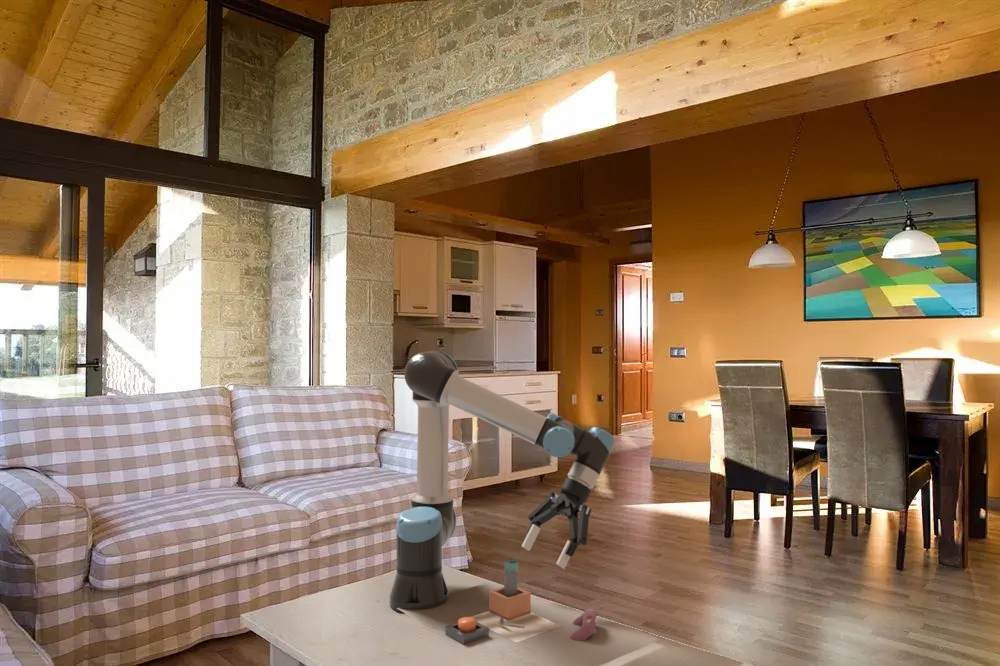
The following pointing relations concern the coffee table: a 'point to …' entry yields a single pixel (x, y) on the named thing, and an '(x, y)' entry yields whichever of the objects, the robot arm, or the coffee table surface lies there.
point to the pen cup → (509, 603)
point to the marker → (511, 577)
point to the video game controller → (585, 625)
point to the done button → (466, 624)
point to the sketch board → (516, 625)
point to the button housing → (467, 637)
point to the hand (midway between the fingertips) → (542, 557)
